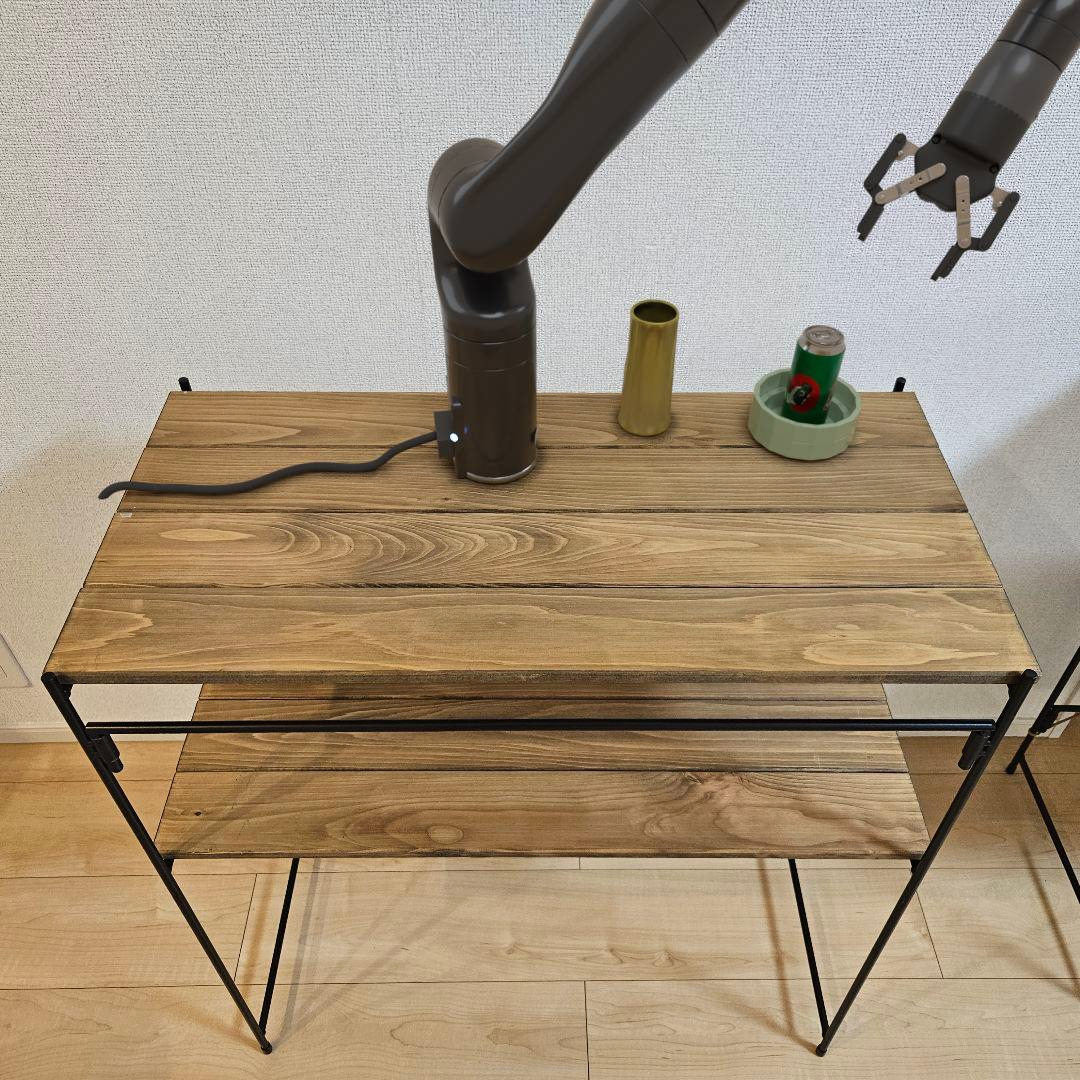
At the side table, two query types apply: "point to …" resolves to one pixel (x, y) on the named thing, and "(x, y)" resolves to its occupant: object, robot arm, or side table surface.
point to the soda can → (813, 375)
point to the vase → (649, 368)
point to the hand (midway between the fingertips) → (896, 260)
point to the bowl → (802, 436)
